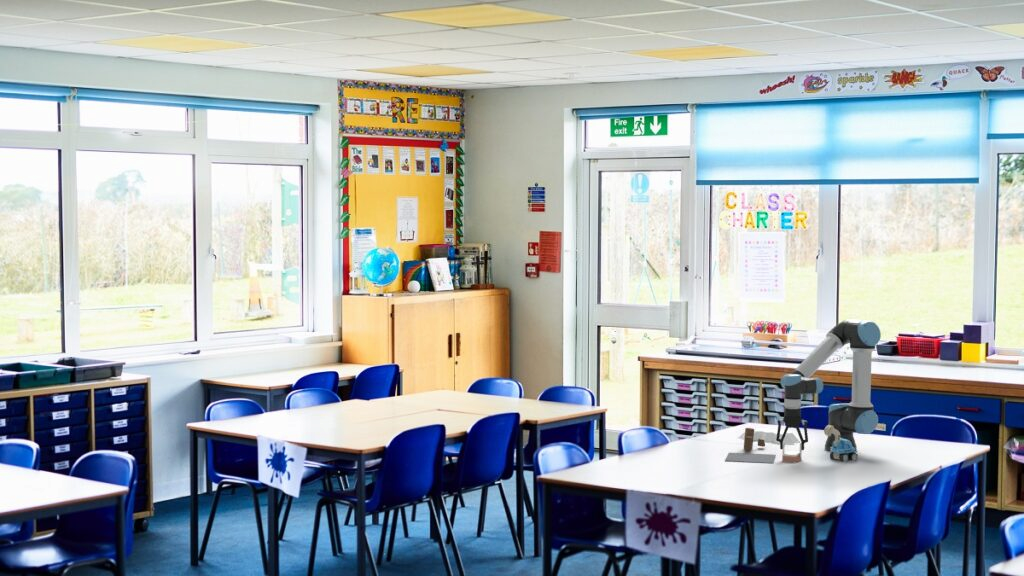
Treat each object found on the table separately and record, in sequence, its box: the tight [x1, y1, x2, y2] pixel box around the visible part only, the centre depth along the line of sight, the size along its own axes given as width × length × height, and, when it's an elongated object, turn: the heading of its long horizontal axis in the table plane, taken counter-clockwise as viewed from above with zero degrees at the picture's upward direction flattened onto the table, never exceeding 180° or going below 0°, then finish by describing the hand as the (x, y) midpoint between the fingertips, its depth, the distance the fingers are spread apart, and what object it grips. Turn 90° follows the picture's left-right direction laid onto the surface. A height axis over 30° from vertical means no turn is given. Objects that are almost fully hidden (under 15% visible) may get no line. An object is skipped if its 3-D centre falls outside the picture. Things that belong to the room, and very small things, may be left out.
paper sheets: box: [737, 427, 801, 446], centre depth 629 cm, size 35×20×6 cm, turn 48°
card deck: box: [781, 450, 802, 463], centre depth 570 cm, size 6×10×4 cm, turn 150°
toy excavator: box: [823, 424, 858, 462], centre depth 571 cm, size 9×17×17 cm, turn 117°
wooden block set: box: [743, 427, 766, 451], centre depth 599 cm, size 18×9×10 cm, turn 151°
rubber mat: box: [724, 452, 776, 465], centre depth 575 cm, size 22×22×1 cm
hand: (791, 456), depth 570 cm, fingers closed on card deck, 7 cm apart
